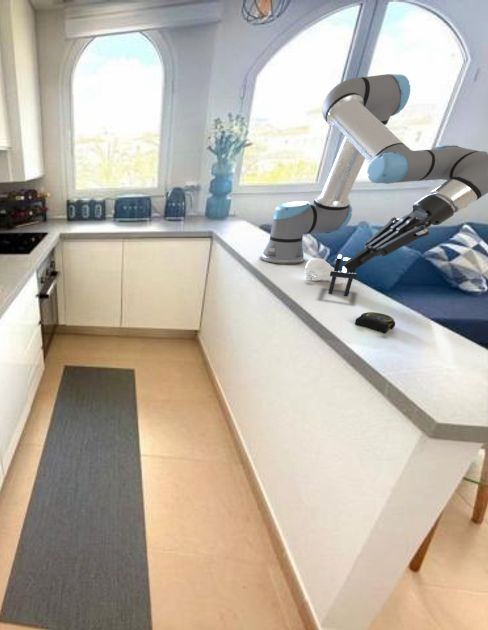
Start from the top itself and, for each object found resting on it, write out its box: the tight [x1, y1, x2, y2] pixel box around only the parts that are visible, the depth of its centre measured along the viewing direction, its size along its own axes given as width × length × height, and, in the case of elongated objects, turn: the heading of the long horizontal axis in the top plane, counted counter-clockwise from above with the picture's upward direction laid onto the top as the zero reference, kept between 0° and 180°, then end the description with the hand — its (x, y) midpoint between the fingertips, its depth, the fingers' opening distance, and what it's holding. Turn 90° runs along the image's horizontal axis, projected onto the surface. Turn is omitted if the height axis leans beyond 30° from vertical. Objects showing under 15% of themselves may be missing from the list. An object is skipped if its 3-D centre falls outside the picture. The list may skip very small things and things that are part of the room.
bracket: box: [327, 254, 357, 297], centre depth 107 cm, size 11×8×13 cm
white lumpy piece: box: [304, 257, 346, 285], centre depth 118 cm, size 6×8×12 cm
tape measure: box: [354, 311, 396, 334], centre depth 88 cm, size 7×7×4 cm
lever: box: [330, 257, 358, 280], centre depth 101 cm, size 13×6×2 cm, turn 141°
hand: (346, 268), depth 96 cm, fingers closed
